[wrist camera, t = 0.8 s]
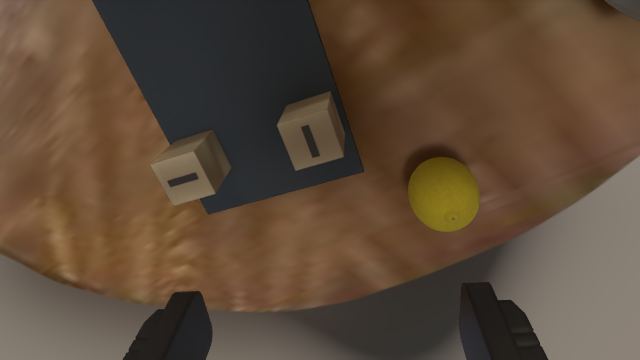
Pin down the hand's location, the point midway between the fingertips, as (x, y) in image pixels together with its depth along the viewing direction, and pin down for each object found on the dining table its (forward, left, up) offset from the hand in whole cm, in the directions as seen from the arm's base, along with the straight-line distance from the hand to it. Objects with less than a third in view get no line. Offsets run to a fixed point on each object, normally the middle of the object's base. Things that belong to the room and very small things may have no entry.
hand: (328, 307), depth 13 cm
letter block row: (+1, -8, -24) cm, 26 cm away
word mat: (-7, -8, -24) cm, 27 cm away
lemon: (+9, +6, -25) cm, 27 cm away
